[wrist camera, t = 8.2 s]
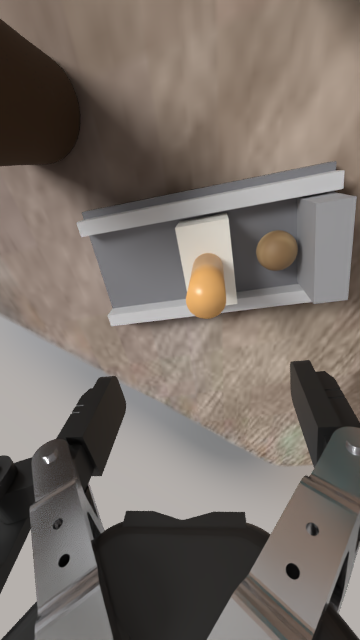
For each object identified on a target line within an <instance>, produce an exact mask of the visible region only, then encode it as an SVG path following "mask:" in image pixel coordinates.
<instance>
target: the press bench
mask: <svg viewBox="0 0 360 640" xmlns="http://www.w3.org/2000/svg"><path fill="white" fill-rule="evenodd" d="M344 171H345V170H336V161H335V162H327V163H322V164H317V165H312V166H307V167H302V168H297V169H292V170H287V171H283V172H278V173H273V174H268V175H263V176H258V177H253V178H248V179H243V180H238V181H233V182H228V183H223V184H218V185H213V186H208V187H203V188H198V189H193V190H188V191H183V192H178V193H173V194H168V195H163V196H158V197H153V198H148V199H143V200H139V201H134V202H129V203H124V204H119V205H114V206H109V207H104V208H99V209H94V210H89V211H85V212H82V215H83V218H84V220H82V221H79V222H77V226H78V229H79V232H80V235H81V237H84V236H89V237H90V240H91V243H92V246H93V249H94V252H95V255H96V258H97V261H98V264H99V267H100V271H101V274H102V277H103V280H104V283H105V286H106V289H107V292H108V295H109V298H110V301H111V304H112V308H113V309H112V310H111V312H110V313H109V314H108V318H109V321H110V324H111V326H117V325H125V324H133V323H142V322H150V321H158V320H167V319H175V318H183V317H191V316H195V315H193V314H192V313H191V312H190V311H189V309H188V307H187V304H186V296H187V289H186V284H185V279H184V273H183V268H182V263H181V257H180V252H179V247H178V242H177V236H176V231H175V227H176V226H177V224H178V223H179V221H184V220H190V219H195V218H200V217H206V216H211V215H217V214H222V213H227V215H228V219H229V228H230V237H231V247H232V256H233V266H234V275H235V285H236V294H237V304H233V305H226V306H225V308H224V310H223V311H222V312H221V313H224V312H233V311H241V310H249V309H258V308H266V307H274V306H282V305H291V304H299V303H307V302H313V304H317V303H326V302H334V301H342V300H348V292H349V280H350V269H351V257H352V245H353V233H354V221H355V210H356V198H357V196H352V195H346V194H341V193H336V192H335V190H339V189H343V186H344ZM276 230H281V231H285V232H288V233H289V234H291V235H292V236H293V237H294V238H295V240H296V242H297V246H298V252H297V256H296V258H295V260H294V262H293V263H292V264H291V265H290V266H288V267H287V268H285V269H283V270H279V271H272V270H268V269H266V268H264V267H263V266H262V265H261V264H260V263H259V261H258V259H257V255H256V249H257V245H258V243H259V241H260V240H261V238H262V237H263V236H264V235H266V234H267V233H269V232H272V231H276Z"/></svg>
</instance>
